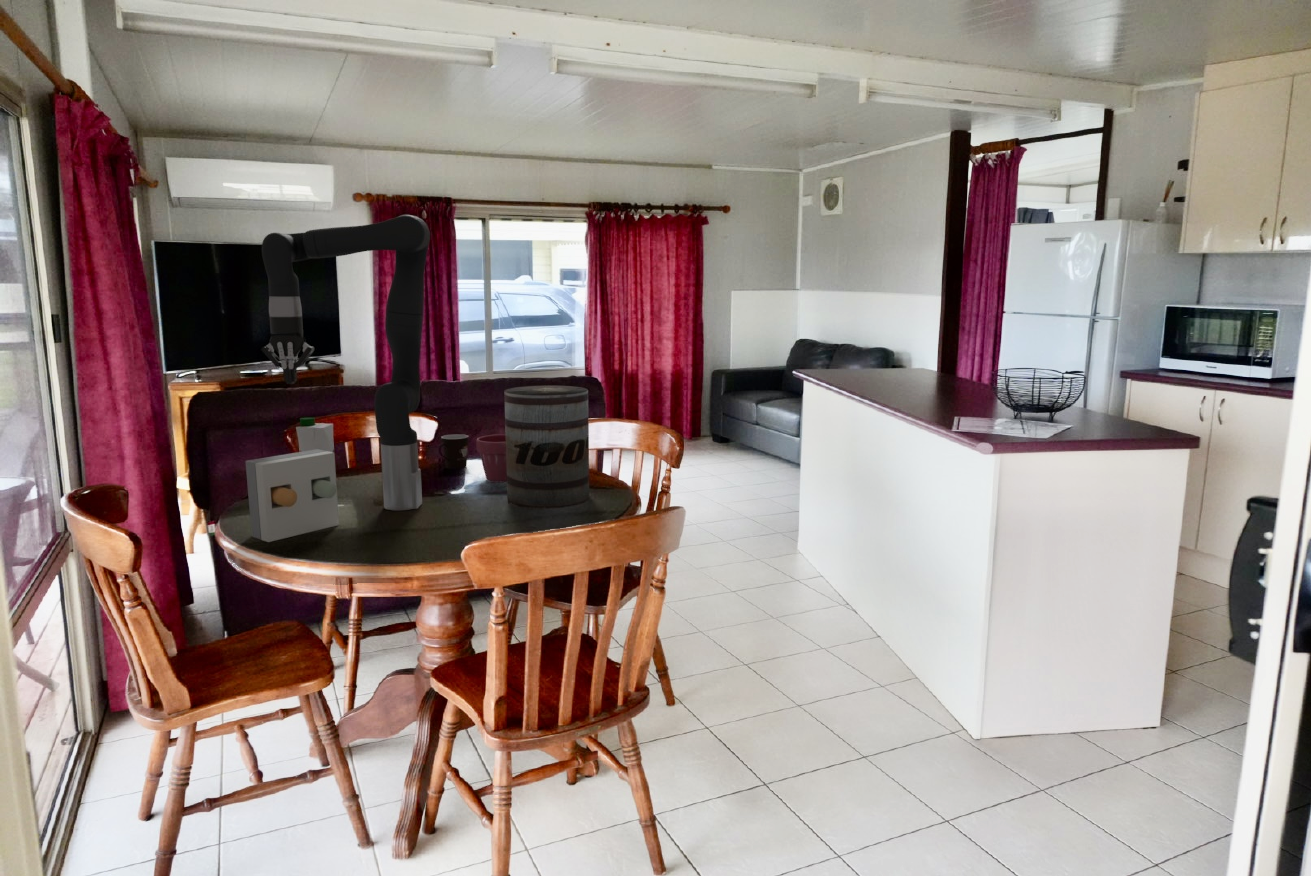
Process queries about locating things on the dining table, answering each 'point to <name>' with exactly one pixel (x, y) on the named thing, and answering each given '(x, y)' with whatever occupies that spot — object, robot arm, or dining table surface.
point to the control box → (296, 476)
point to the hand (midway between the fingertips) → (290, 383)
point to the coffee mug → (455, 450)
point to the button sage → (323, 488)
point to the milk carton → (315, 435)
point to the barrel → (547, 446)
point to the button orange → (283, 496)
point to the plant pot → (493, 456)
